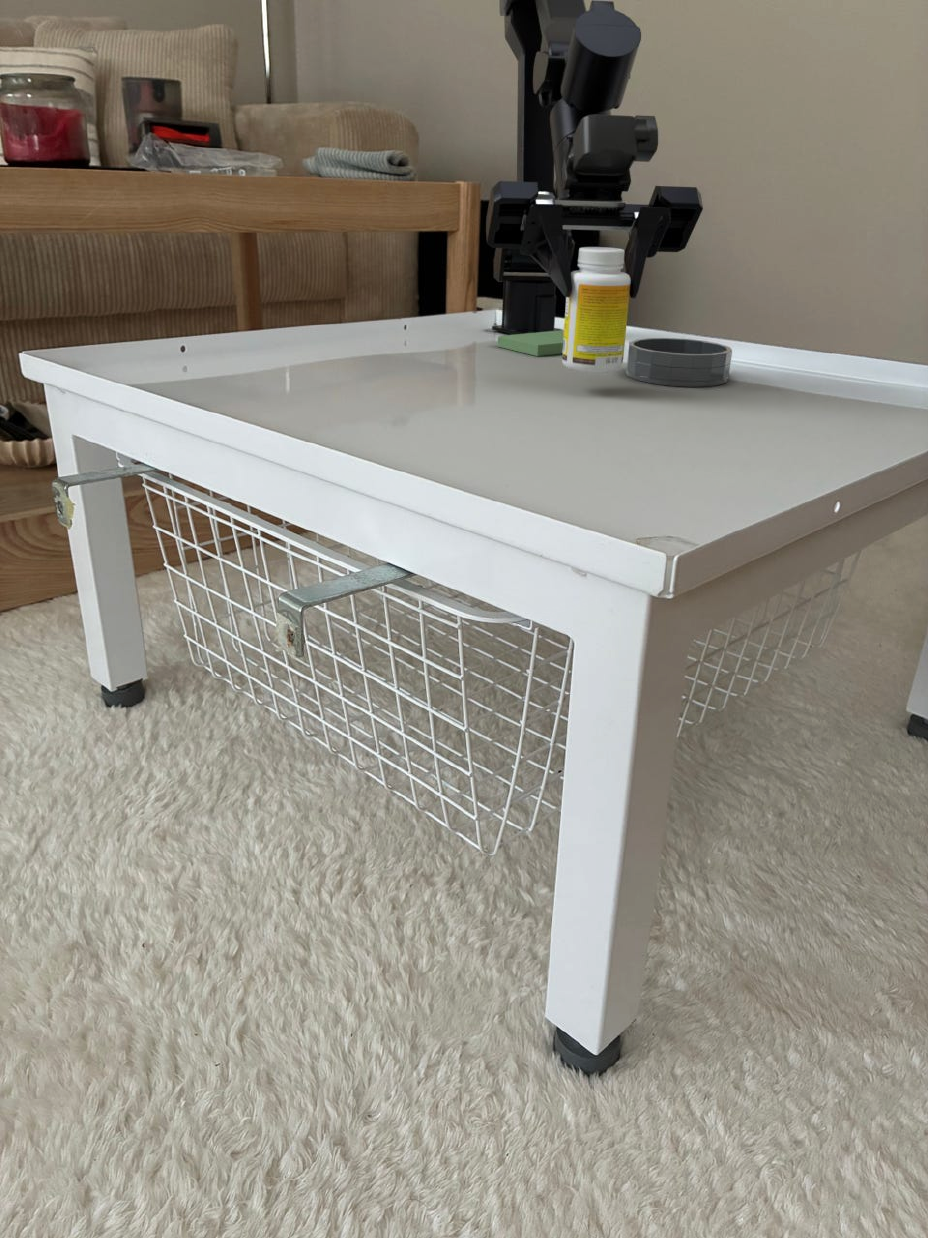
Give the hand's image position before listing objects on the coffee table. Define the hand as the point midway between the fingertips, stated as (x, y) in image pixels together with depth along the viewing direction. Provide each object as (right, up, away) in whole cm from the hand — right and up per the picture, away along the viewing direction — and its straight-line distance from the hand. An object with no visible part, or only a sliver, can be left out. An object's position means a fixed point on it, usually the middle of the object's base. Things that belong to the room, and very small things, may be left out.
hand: (601, 294), depth 83 cm
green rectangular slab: (-2, +3, +26) cm, 27 cm away
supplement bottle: (0, -6, +4) cm, 7 cm away
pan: (+9, -4, +13) cm, 16 cm away
